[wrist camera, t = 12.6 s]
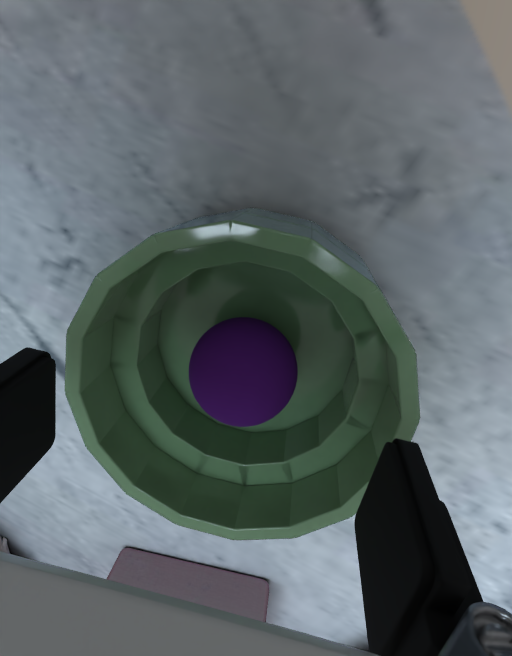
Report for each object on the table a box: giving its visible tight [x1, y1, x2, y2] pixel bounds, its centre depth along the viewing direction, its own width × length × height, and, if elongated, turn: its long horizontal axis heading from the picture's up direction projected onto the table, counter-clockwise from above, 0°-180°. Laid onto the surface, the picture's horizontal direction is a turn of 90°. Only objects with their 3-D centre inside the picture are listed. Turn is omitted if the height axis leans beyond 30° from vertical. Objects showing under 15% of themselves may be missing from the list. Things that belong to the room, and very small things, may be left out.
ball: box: [189, 317, 298, 427], centre depth 16 cm, size 4×4×4 cm
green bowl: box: [65, 208, 420, 540], centre depth 17 cm, size 12×12×6 cm
